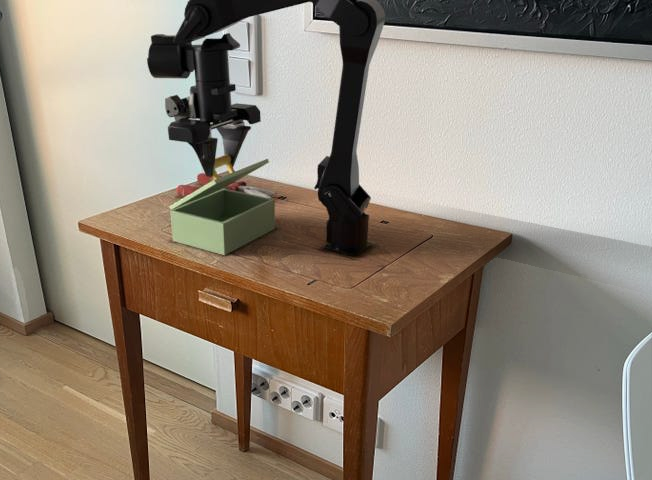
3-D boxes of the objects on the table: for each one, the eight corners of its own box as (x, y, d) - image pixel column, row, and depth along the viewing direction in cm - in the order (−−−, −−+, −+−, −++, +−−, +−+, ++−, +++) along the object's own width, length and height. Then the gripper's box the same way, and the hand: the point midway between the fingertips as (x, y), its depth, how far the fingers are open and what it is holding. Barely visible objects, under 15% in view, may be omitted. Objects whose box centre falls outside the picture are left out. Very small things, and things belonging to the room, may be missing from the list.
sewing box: (275, 228, 137) (274, 199, 135) (224, 255, 126) (223, 223, 124) (224, 216, 143) (223, 188, 140) (172, 241, 132) (170, 210, 129)
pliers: (262, 209, 147) (262, 196, 145) (174, 197, 153) (173, 185, 152) (284, 193, 156) (284, 181, 154) (200, 182, 162) (199, 170, 161)
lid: (269, 162, 132) (258, 138, 131) (216, 183, 121) (203, 158, 120) (224, 187, 140) (213, 166, 139) (170, 210, 129) (158, 186, 128)
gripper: (209, 68, 132) (216, 155, 140) (137, 84, 119) (149, 180, 126) (260, 71, 127) (264, 162, 134) (190, 89, 113) (199, 188, 121)
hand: (219, 172), depth 129 cm, fingers closed on lid, 5 cm apart
